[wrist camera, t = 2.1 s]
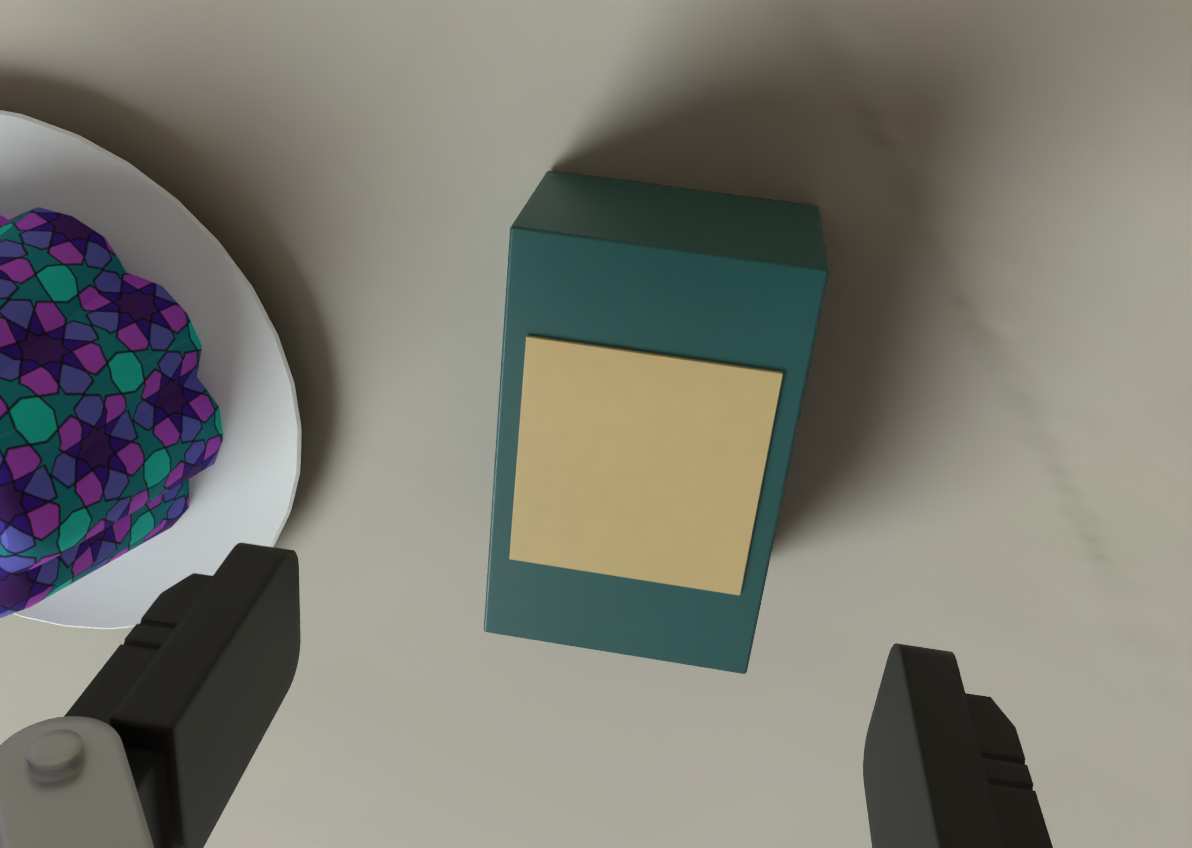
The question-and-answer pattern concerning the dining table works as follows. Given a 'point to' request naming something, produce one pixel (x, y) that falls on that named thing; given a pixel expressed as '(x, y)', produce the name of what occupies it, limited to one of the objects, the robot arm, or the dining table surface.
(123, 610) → the pudding
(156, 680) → the robot arm
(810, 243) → the packet
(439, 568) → the dining table surface
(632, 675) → the dining table surface
